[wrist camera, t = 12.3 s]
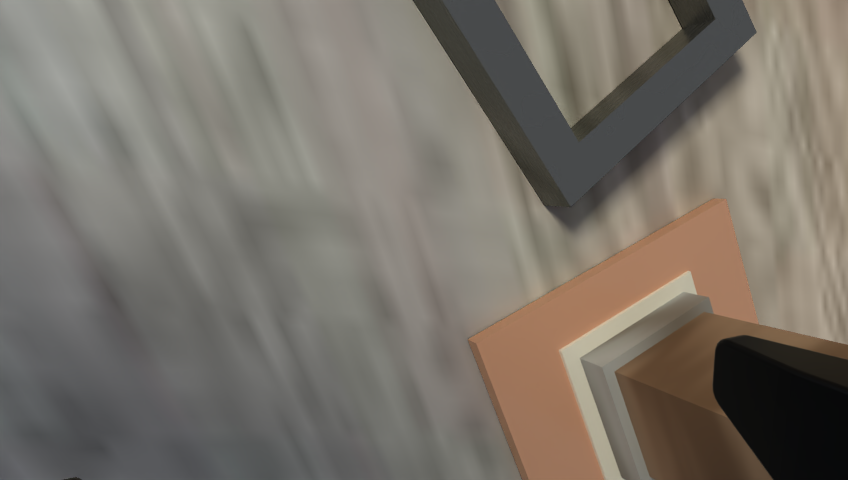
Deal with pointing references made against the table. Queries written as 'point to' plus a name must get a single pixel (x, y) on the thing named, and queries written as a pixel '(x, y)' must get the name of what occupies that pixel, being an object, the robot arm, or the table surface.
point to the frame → (608, 121)
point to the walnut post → (677, 393)
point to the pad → (599, 339)
